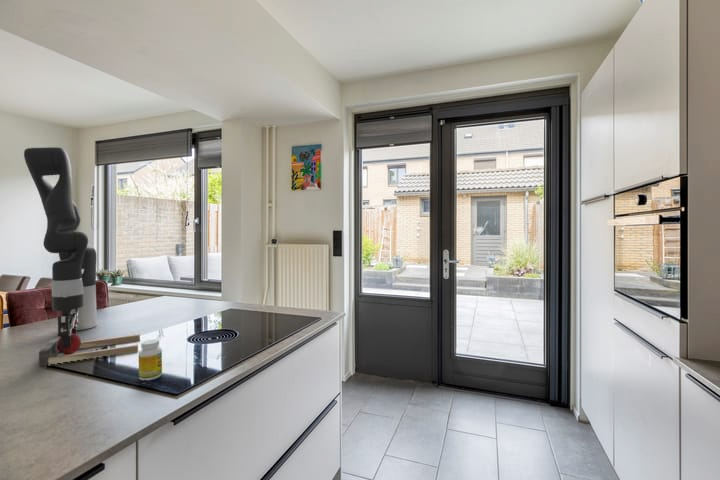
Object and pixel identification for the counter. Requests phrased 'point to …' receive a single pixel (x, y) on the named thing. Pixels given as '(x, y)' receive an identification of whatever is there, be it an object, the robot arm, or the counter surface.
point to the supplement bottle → (150, 360)
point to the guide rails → (50, 352)
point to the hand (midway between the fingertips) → (69, 344)
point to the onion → (74, 345)
